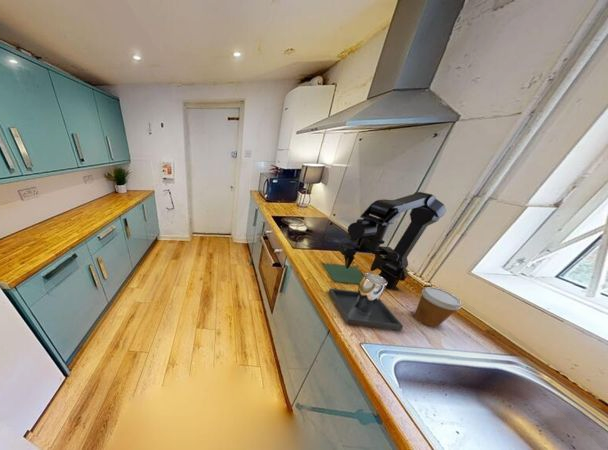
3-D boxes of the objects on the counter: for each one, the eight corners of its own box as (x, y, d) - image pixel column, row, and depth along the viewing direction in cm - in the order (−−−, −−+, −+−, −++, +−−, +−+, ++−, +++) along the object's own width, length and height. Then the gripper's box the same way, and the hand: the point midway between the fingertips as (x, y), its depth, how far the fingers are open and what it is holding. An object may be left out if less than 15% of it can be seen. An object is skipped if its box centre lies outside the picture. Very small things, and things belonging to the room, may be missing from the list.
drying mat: (355, 267, 102) (355, 266, 102) (371, 285, 89) (371, 285, 89) (322, 264, 104) (322, 263, 104) (334, 281, 91) (334, 281, 91)
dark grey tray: (372, 297, 83) (374, 293, 82) (400, 331, 68) (403, 326, 67) (328, 292, 85) (329, 288, 84) (346, 324, 71) (348, 319, 69)
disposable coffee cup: (449, 336, 67) (469, 311, 62) (412, 323, 72) (428, 298, 67) (438, 316, 74) (456, 292, 70) (405, 306, 79) (419, 282, 74)
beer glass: (376, 318, 73) (393, 286, 66) (355, 314, 74) (369, 283, 68) (366, 303, 79) (380, 273, 73) (347, 300, 80) (360, 271, 74)
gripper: (386, 227, 78) (372, 260, 85) (336, 223, 81) (326, 255, 87) (408, 241, 68) (389, 277, 75) (350, 236, 71) (337, 271, 77)
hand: (358, 269), depth 79 cm, fingers open, 9 cm apart
